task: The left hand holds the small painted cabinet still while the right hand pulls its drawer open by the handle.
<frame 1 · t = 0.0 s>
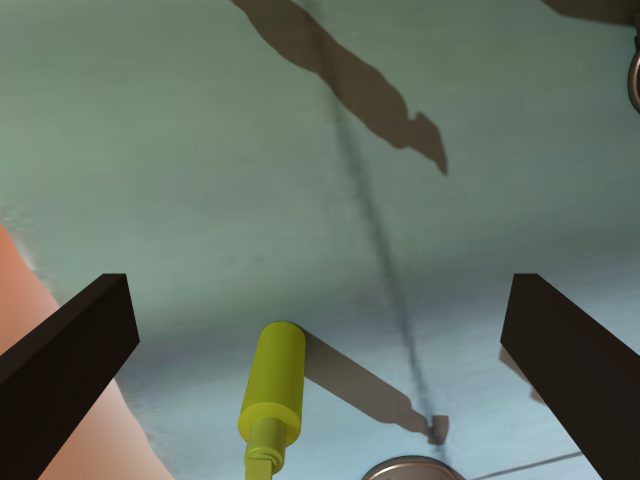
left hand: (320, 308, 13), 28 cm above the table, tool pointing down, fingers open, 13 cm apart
soap dispenser: (282, 336, 46), on the table
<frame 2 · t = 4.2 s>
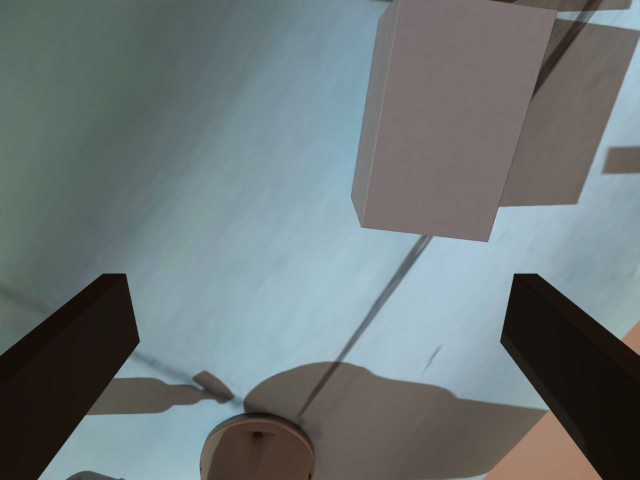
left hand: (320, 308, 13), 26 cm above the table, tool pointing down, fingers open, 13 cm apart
drawer: (448, 41, 29), point 5 cm above the table, slide at 1.6 cm
cabinet: (415, 122, 36), on the table
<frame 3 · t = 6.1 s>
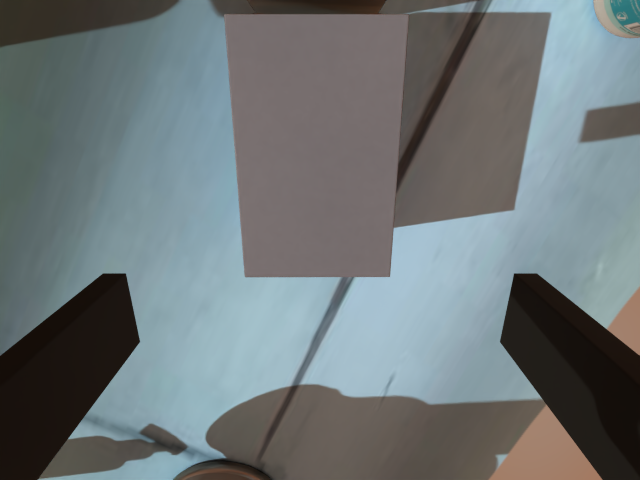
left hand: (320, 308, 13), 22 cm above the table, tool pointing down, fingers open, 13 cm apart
drawer: (317, 59, 26), point 5 cm above the table, slide at 1.6 cm
cabinet: (317, 144, 32), on the table
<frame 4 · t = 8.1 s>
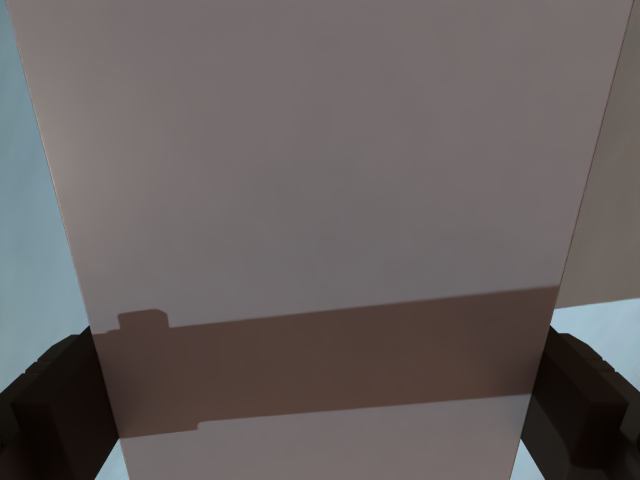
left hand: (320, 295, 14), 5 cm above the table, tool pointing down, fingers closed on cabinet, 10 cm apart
cabinet: (319, 179, 17), on the table, touching left hand
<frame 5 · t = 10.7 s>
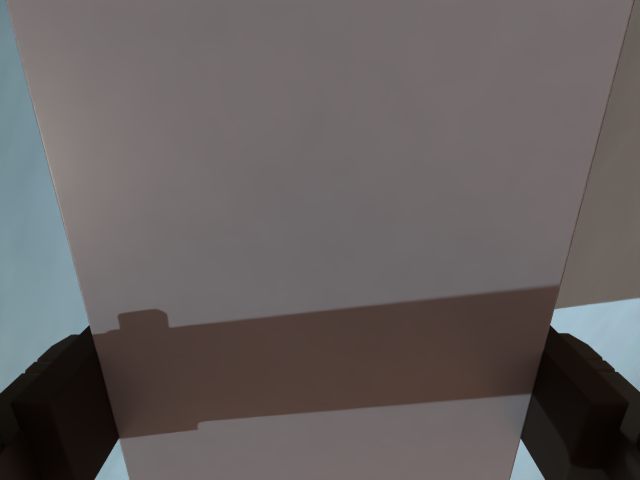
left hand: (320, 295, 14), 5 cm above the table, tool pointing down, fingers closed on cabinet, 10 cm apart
cabinet: (319, 179, 17), on the table, touching left hand
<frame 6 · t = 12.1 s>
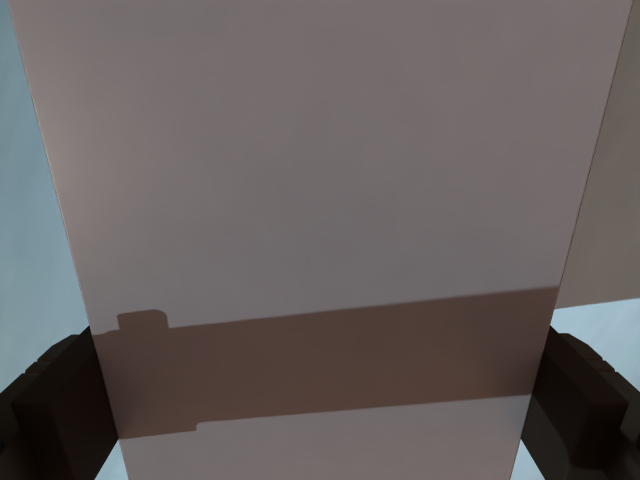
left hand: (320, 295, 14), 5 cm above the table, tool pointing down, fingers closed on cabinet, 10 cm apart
cabinet: (319, 179, 17), on the table, touching left hand
when the left hand's fingers open (5 cm above the table, at t = 13.8 s): cabinet stays where it is, on the table.
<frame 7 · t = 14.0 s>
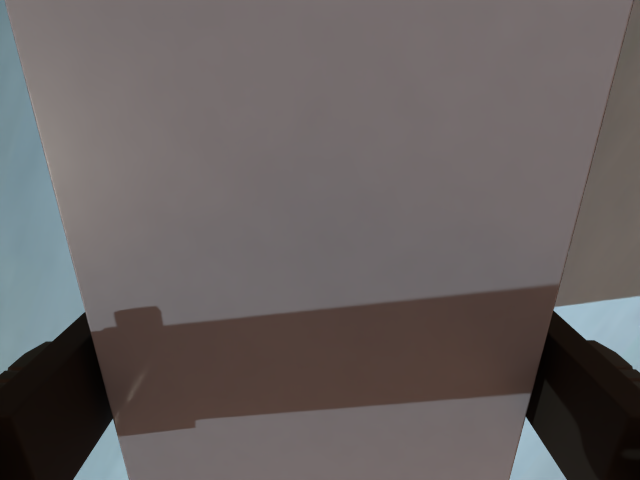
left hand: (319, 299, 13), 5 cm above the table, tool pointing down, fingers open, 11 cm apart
cabinet: (319, 176, 17), on the table
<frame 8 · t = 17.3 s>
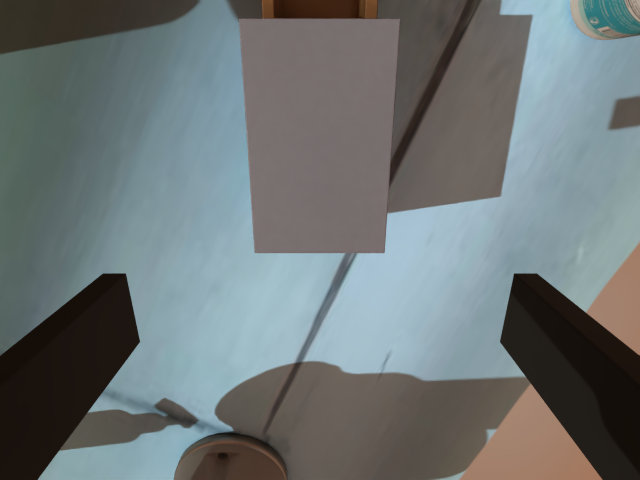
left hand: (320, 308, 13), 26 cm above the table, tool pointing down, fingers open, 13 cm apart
cabinet: (319, 136, 35), on the table
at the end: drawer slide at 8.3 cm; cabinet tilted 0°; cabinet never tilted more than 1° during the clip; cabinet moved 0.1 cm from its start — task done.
